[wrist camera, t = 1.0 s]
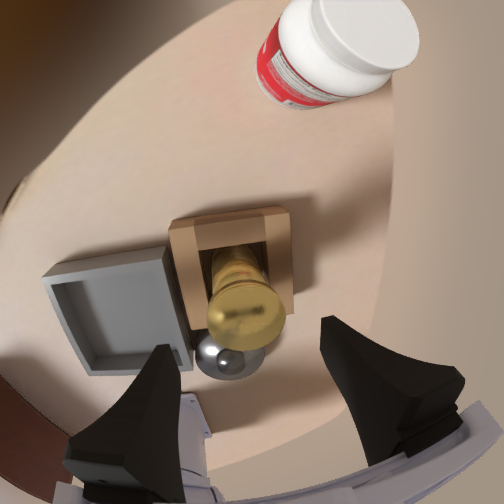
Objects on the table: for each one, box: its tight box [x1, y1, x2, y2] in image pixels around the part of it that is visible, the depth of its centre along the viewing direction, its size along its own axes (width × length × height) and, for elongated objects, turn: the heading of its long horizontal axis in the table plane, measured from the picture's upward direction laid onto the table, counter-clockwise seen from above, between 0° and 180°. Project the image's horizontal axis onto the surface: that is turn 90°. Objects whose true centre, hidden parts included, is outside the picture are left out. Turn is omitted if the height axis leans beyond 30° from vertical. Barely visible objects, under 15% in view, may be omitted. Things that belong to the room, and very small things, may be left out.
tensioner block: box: [168, 205, 294, 330], centre depth 21 cm, size 8×8×2 cm
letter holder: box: [0, 375, 73, 504], centre depth 19 cm, size 10×20×14 cm, turn 28°
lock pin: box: [207, 244, 286, 351], centre depth 18 cm, size 4×4×8 cm
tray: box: [42, 246, 194, 376], centre depth 21 cm, size 10×10×3 cm
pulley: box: [195, 328, 265, 380], centre depth 23 cm, size 6×6×3 cm
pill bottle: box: [255, 0, 420, 110], centre depth 12 cm, size 6×6×11 cm
